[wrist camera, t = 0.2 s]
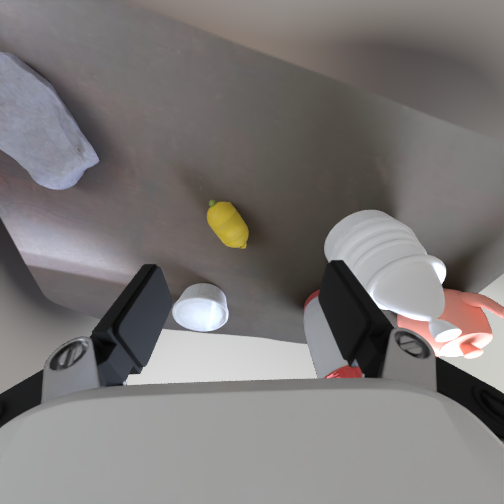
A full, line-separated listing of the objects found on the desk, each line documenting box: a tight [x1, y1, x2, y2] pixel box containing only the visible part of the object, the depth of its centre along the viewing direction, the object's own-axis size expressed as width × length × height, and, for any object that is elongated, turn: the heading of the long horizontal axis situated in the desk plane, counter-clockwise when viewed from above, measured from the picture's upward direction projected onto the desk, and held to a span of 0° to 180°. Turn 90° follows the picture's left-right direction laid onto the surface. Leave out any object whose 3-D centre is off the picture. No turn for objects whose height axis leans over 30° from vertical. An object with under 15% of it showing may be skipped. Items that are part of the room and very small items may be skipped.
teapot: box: [397, 288, 504, 358], centre depth 40 cm, size 22×15×12 cm
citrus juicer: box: [303, 289, 363, 378], centre depth 35 cm, size 16×17×20 cm
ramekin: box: [172, 283, 228, 331], centre depth 39 cm, size 11×11×5 cm
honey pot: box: [324, 210, 462, 342], centre depth 27 cm, size 13×13×18 cm
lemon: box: [207, 200, 249, 249], centre depth 29 cm, size 10×5×5 cm, turn 30°
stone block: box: [0, 52, 99, 189], centre depth 22 cm, size 12×5×10 cm
